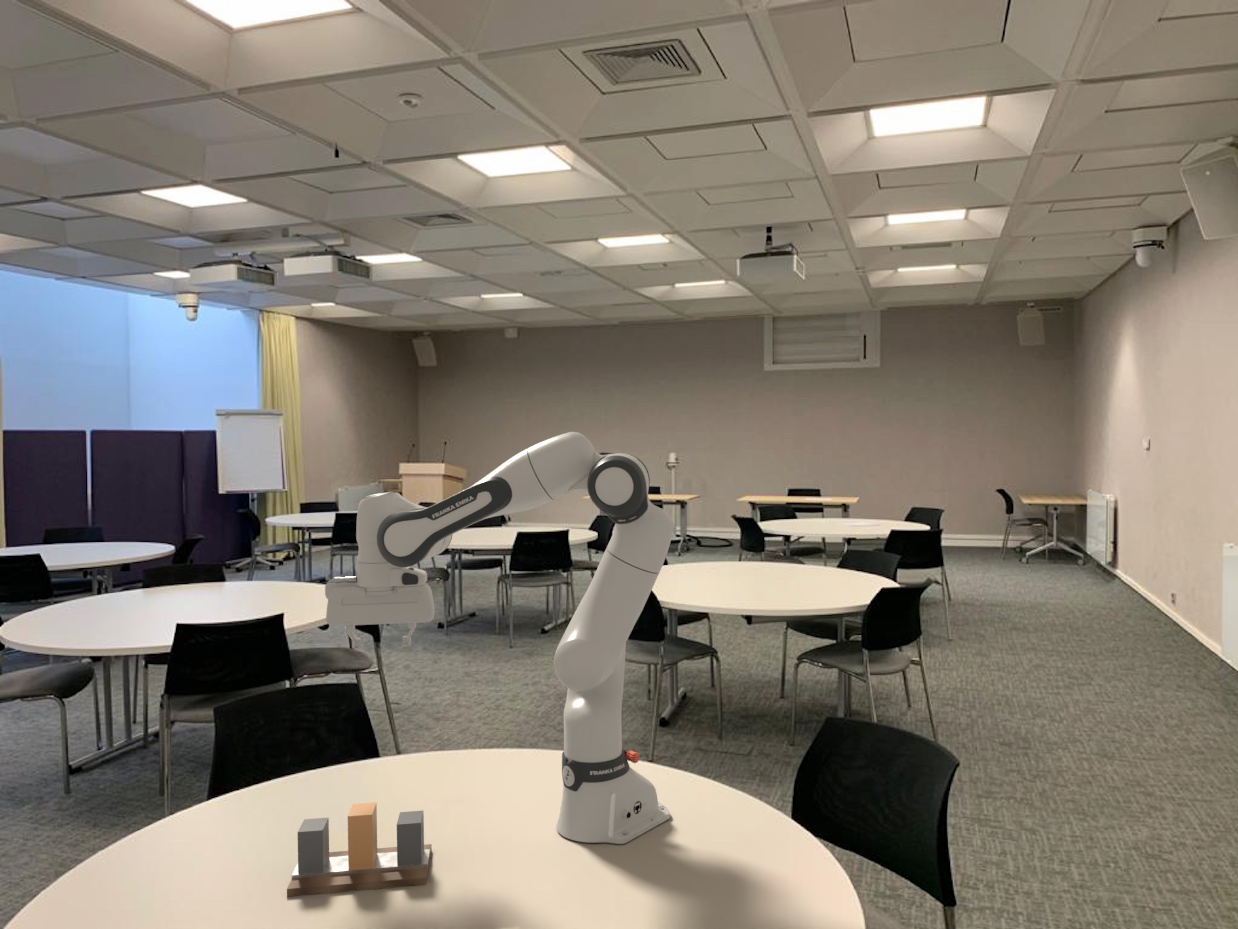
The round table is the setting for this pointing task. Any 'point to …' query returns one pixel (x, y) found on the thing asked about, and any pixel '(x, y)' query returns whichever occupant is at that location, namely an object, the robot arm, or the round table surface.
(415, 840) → the mounted modules
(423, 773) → the round table surface
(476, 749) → the round table surface
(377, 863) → the light grey flat plate
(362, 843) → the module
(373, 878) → the board
